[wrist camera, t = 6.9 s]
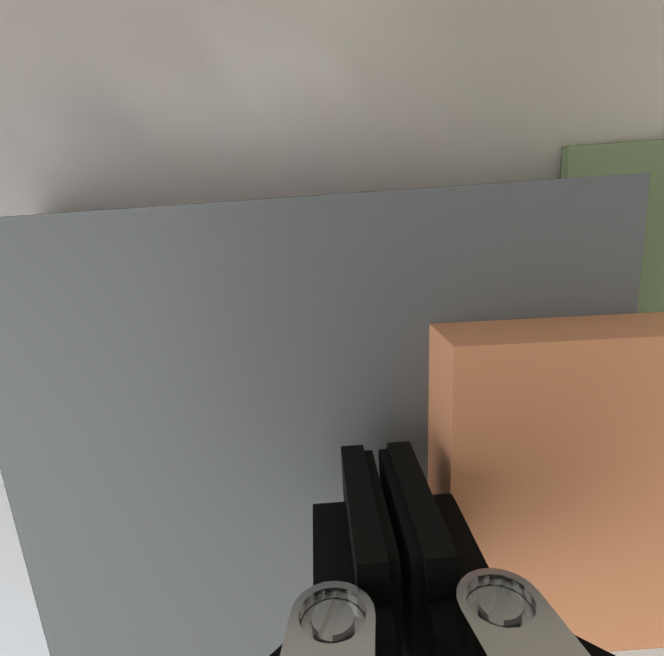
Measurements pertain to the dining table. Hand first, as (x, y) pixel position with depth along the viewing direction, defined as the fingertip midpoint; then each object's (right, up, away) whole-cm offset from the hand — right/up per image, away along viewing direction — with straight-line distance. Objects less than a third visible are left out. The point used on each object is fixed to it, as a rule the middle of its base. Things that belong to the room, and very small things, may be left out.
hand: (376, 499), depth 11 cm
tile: (+4, 0, +1) cm, 5 cm away
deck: (-1, +1, +5) cm, 5 cm away
